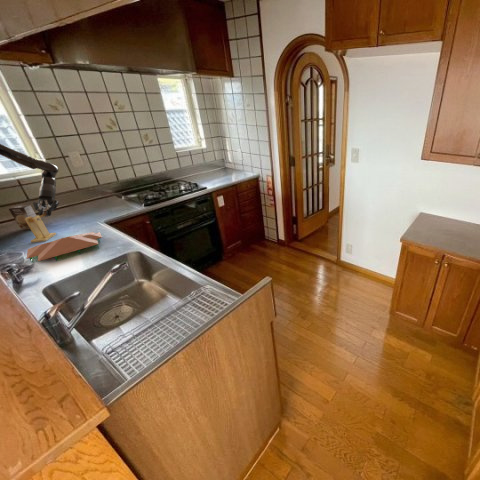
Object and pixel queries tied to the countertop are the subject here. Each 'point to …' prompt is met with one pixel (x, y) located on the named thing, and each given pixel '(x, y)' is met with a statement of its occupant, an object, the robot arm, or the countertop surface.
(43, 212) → the flush lever
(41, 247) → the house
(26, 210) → the coffee box
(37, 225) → the flush bracket
